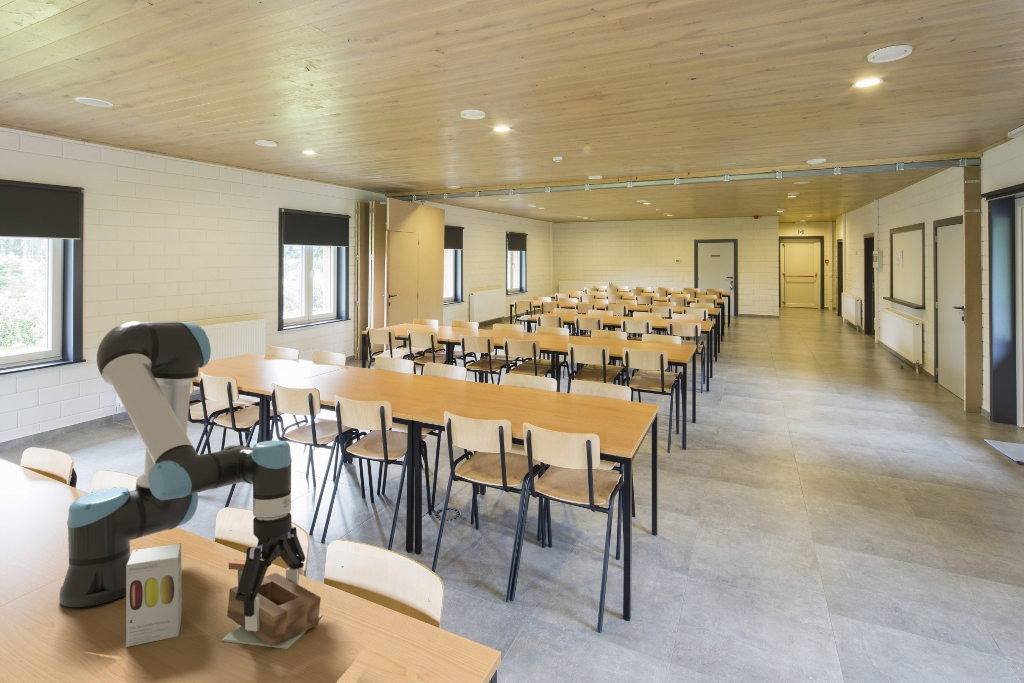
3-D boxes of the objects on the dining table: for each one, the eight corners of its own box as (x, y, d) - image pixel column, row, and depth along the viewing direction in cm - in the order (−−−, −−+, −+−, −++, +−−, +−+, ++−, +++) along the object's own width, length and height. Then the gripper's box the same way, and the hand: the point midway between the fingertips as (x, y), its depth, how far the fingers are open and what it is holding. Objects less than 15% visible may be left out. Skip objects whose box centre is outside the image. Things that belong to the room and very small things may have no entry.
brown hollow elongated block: (271, 646, 110) (273, 616, 110) (227, 616, 119) (229, 588, 119) (318, 624, 119) (320, 597, 119) (274, 598, 128) (276, 572, 128)
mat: (221, 641, 114) (221, 639, 114) (262, 610, 127) (262, 608, 127) (287, 648, 111) (287, 646, 111) (322, 616, 124) (322, 614, 124)
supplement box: (124, 648, 112) (123, 565, 111) (131, 627, 120) (130, 549, 120) (180, 636, 116) (179, 556, 116) (182, 616, 124) (182, 541, 124)
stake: (226, 607, 128) (225, 564, 128) (238, 599, 132) (237, 557, 132) (253, 610, 127) (252, 566, 127) (264, 602, 131) (263, 559, 131)
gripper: (249, 536, 106) (250, 647, 106) (320, 498, 130) (321, 588, 130) (214, 534, 107) (215, 643, 107) (291, 496, 132) (292, 585, 132)
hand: (273, 613), depth 119 cm, fingers closed on brown hollow elongated block, 13 cm apart
